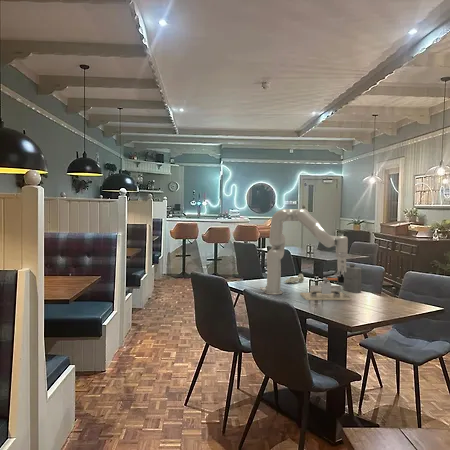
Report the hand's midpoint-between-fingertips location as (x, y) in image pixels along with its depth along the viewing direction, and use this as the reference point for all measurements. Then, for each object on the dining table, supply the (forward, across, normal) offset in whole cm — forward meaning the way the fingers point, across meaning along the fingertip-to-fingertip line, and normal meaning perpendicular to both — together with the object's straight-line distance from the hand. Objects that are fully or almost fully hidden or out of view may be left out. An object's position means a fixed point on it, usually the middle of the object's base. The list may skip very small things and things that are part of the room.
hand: (341, 282), depth 284 cm
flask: (+12, +30, -10) cm, 34 cm away
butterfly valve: (+11, +52, +31) cm, 62 cm away
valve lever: (+1, +4, +5) cm, 6 cm away
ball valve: (+11, +3, +10) cm, 16 cm away
